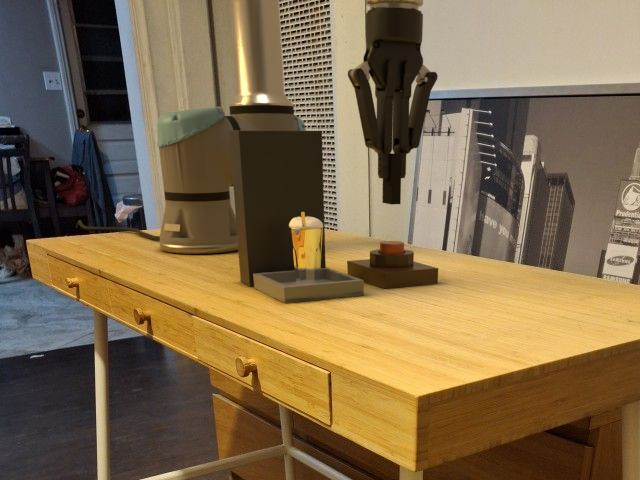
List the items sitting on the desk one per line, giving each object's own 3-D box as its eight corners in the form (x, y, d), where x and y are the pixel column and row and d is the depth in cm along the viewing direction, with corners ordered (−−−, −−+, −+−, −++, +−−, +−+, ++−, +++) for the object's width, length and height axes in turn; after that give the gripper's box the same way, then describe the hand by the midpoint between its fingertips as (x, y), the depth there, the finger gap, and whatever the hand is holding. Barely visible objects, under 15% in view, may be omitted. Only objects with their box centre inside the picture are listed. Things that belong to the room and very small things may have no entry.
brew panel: (347, 275, 117) (346, 248, 115) (397, 271, 120) (398, 244, 119) (384, 288, 107) (384, 259, 105) (438, 283, 111) (439, 255, 109)
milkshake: (289, 290, 102) (285, 211, 98) (294, 283, 107) (290, 207, 103) (322, 291, 102) (320, 212, 98) (326, 283, 107) (324, 208, 103)
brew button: (375, 254, 113) (375, 241, 112) (396, 252, 114) (396, 240, 114) (387, 257, 110) (387, 244, 109) (408, 255, 112) (408, 243, 111)
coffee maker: (240, 282, 111) (228, 130, 102) (315, 275, 116) (310, 130, 107) (283, 303, 98) (274, 131, 89) (365, 295, 103) (364, 131, 94)
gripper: (363, 1, 93) (363, 207, 103) (452, 9, 98) (443, 204, 109) (336, 8, 98) (339, 202, 109) (422, 15, 104) (416, 199, 115)
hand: (391, 203), depth 109 cm, fingers closed
